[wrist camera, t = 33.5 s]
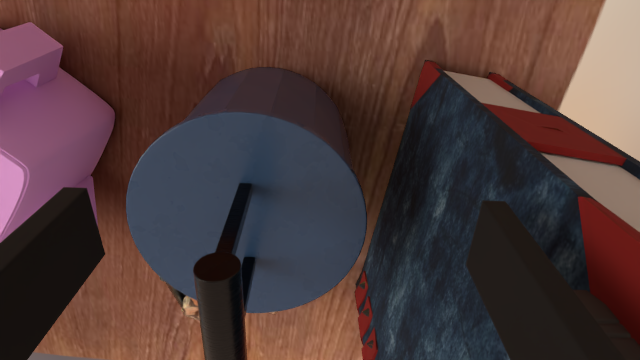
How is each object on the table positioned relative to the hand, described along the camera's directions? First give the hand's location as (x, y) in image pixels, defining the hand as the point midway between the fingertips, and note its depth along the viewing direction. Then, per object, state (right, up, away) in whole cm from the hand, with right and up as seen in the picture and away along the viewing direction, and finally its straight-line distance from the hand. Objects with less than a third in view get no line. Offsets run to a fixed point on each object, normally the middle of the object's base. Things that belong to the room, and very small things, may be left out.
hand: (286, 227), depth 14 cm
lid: (-3, -1, +10) cm, 10 cm away
